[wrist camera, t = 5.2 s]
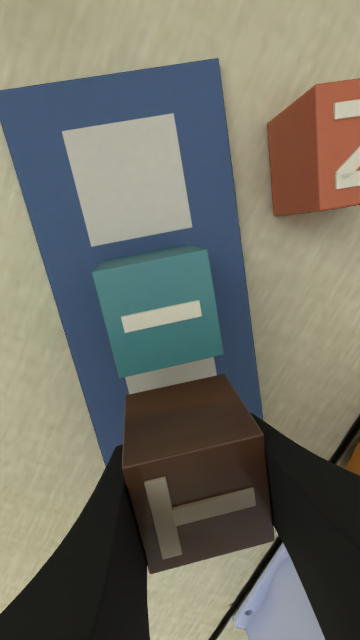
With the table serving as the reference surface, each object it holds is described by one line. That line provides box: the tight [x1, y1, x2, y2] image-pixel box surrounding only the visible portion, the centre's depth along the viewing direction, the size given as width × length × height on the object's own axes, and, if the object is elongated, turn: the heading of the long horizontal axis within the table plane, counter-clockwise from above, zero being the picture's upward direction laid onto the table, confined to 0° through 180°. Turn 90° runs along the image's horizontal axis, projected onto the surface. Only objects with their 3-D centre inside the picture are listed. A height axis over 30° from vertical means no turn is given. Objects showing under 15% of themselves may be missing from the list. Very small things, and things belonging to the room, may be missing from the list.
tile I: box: [92, 244, 224, 378], centre depth 13 cm, size 4×4×4 cm
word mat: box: [0, 58, 263, 466], centre depth 15 cm, size 18×9×1 cm, turn 11°
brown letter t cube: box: [122, 374, 274, 574], centre depth 11 cm, size 4×4×4 cm
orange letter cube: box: [267, 78, 360, 216], centre depth 13 cm, size 4×4×4 cm
